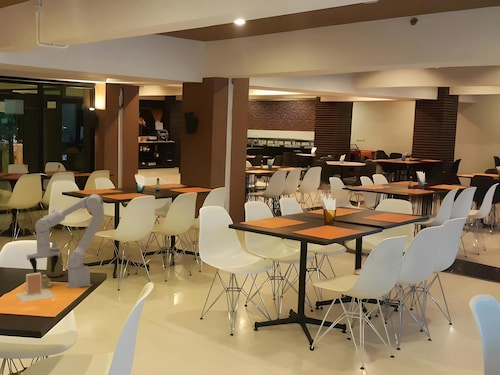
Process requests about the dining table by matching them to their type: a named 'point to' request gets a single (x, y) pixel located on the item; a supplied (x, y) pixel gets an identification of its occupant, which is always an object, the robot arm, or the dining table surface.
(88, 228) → the robot arm
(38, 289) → the tile
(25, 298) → the mat
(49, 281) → the wooden bar
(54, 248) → the squeeze bottle
